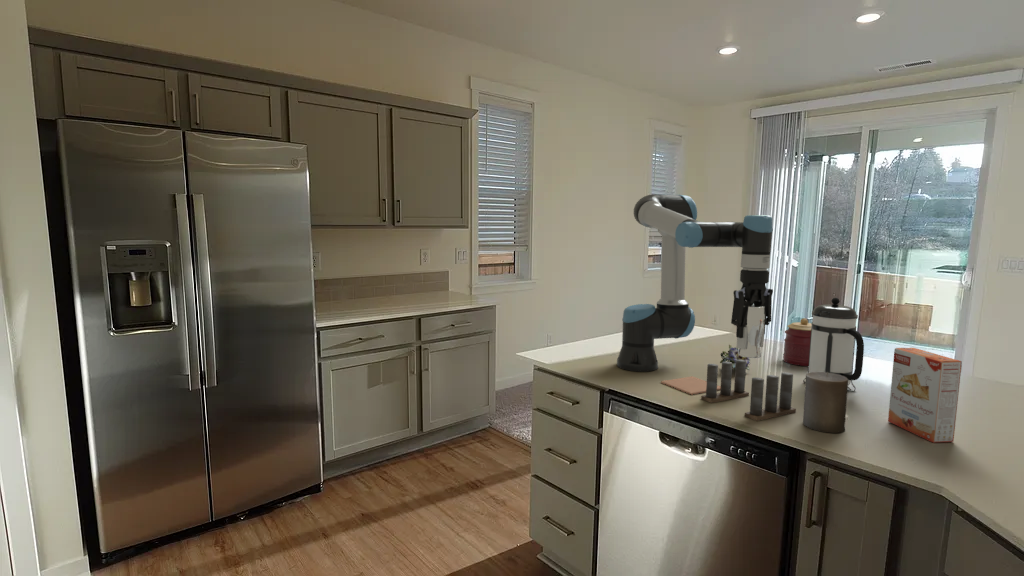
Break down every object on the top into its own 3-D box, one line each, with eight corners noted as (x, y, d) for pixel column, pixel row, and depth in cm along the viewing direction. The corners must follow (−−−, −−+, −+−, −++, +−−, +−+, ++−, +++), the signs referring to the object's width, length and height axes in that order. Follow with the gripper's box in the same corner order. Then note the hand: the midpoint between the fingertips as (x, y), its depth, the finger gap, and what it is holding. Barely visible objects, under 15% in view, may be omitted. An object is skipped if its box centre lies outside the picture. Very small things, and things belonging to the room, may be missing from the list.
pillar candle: (853, 431, 134) (858, 375, 132) (824, 435, 131) (828, 377, 129) (821, 418, 143) (825, 365, 141) (793, 421, 140) (797, 368, 139)
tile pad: (661, 382, 174) (661, 381, 174) (692, 377, 180) (692, 376, 180) (691, 395, 162) (691, 393, 162) (723, 389, 168) (723, 387, 168)
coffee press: (796, 387, 170) (803, 298, 166) (809, 377, 181) (815, 293, 178) (859, 399, 158) (867, 303, 155) (868, 388, 170) (876, 298, 166)
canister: (785, 356, 211) (788, 314, 209) (822, 361, 204) (825, 317, 201) (780, 363, 201) (783, 318, 198) (818, 368, 193) (822, 322, 191)
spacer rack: (701, 398, 158) (702, 364, 157) (738, 392, 165) (740, 358, 164) (756, 421, 140) (759, 381, 139) (795, 412, 147) (798, 374, 146)
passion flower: (740, 388, 186) (738, 367, 179) (713, 376, 194) (709, 355, 187) (757, 368, 190) (755, 346, 183) (729, 357, 198) (726, 335, 191)
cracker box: (886, 422, 140) (893, 347, 138) (906, 421, 141) (914, 346, 138) (932, 443, 126) (940, 360, 124) (954, 442, 127) (963, 360, 124)
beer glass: (765, 359, 147) (768, 307, 145) (739, 357, 148) (742, 306, 147) (758, 353, 154) (762, 303, 152) (734, 351, 155) (736, 302, 153)
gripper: (741, 271, 141) (736, 353, 143) (789, 269, 149) (783, 346, 152) (720, 269, 147) (715, 347, 150) (766, 267, 155) (761, 341, 158)
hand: (749, 347), depth 151 cm, fingers closed on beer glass, 6 cm apart
